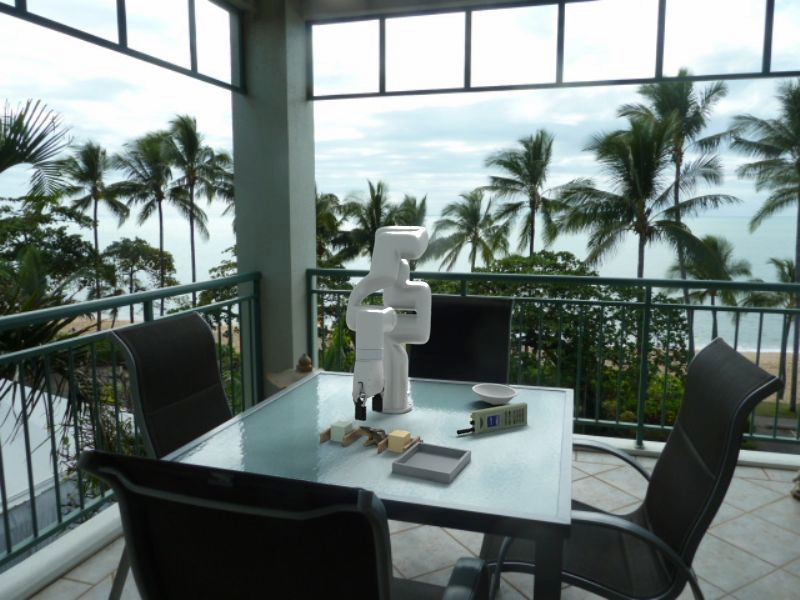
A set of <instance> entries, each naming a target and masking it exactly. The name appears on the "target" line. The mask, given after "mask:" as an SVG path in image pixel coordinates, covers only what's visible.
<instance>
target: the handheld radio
mask: <svg viewBox="0 0 800 600" xmlns="http://www.w3.org/2000/svg"><path fill="white" fill-rule="evenodd" d="M469 413H471V414H470V419H471V420H470V421H469V425H471V427H470V428H463V429H456V433H457V435H464V434H469V433H473V434H475V435H478V434H484V433H488V432H495V431H499V430H505V429H511V428H515V427H519V426H526V425H528V402H520V403H513V404H507V405H505V404H504V405H502V406H501V405H499V406H494V407H489V408H484V409H483V408H482V409H475V410H471V411H469Z"/></svg>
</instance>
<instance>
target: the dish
mask: <svg viewBox="0 0 800 600" xmlns="http://www.w3.org/2000/svg"><path fill="white" fill-rule="evenodd" d="M471 391H472V392H474V393H475V394H476V396H477V397H478V398H479V399H480V401H483V402H485V403H487V404H491V405H492V406H497V405H505V404H506V403H509V402H510V401H511V400H513V399H514V398H515V397H517V396H518V394H519V393H518V391H517V390H516V388H513V387H510V386H507V385H505V384H504V385H503V384H499V383H479V384H476V385H473V386H472V388H471Z"/></svg>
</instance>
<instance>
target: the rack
mask: <svg viewBox="0 0 800 600" xmlns="http://www.w3.org/2000/svg"><path fill="white" fill-rule="evenodd" d="M362 432H363V431H362V430H361V429H360V426H359V427H357V428H353V427H352V432H351V433H349V434H347V435H346V436H344V437H343V442H342V447H344V448H346V447H347V446H349V445H350V444H352V443H353V442H355V441H357V440H358V439H359V438H361V437H362V436H364V434H362ZM389 434H390V433H385V439H384V440H382V441H381V442H379V443H378V444H377V454H382V453H383V452H384V451H385V450H386V449H387V450H388V435H389ZM329 439H331V426H330V427H329V428H327V429H325V430H323V431H322V432H320V433H319V442H320V443H324V442H326V441H327V440H329ZM417 442H423V443H424V439H421V436H420V435H417V436H416V437H415V438H414V437H413V438H412V437H410V443H408V444H407V445H406V446H405V447H404V448H403V453H405V452H406V451H407V450H408V449H409V448H411V447H412V446H413V445H414V444H416V443H417ZM403 453H402V454H403Z"/></svg>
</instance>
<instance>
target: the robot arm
mask: <svg viewBox="0 0 800 600" xmlns="http://www.w3.org/2000/svg"><path fill="white" fill-rule="evenodd" d="M428 245H429V233H428V231H427V229H426V228H425V227H424V226H420V225H419V226H416V225H415V226H414V225H413V226H412V225H409V226H406V225H404V226H403V225H402V226H401V225H388V226H381V227H379V228H377V229H376V231H375V234H374V245H373V252H372V256H371V262H370V263H371V264H370V268H369V273H368V274H367V275H365V276H364V277H362V279H360V281H359V282H358V283H357V284H356V285H355V286H354V287H353V289H352V291H351V292H350V294H349V298H348V302H347V308H346V314H345V322H346V325H347V326H346V327H348V329H349V330H351V331H354V332H355V363H354V367H353V377H352V392H351V396H352V401H353V405H354V419H355V420H356V421H361V422H366V421H367V406H366V403H367V401H368V399H370V398H371V411H373V412H378V413H383V414H396V415H397V414H404V413H408V412H410V411H411V410H413V403H411V402H410V401H409V397H410V396H411V393H412V392H411V391H410V390H409V357H408V353H407V351H406V350H405V348H404V346H403V344H412V345H424V344H426V343H427V342H428V341H429V339H430V335H431V321H432V320H431V319H432V318H431V317H432V289H431V287H430V284H429V283H427V282H424V281H411V280H410V276H411V275H410V274H411V273H410V272H411V267H410V264H409V262H408V261H407V260H418V259H419V260H420V258H421V257H422V256H423V254H424V253H425V252H426V250H427V248H428V247H429V246H428ZM381 290H382V302H383V303H382V304H383V305H375V304H369V305H368V304H362V302H363V300H365V299H366V298H367V297H368V296H369V295H372V294H373V293H376V292H378V291H381ZM397 310H398V311H415V313H416V314H414V313H413V314H410V313H409V314H408V313H407V314H405V313H397V312H396V311H397Z"/></svg>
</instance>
